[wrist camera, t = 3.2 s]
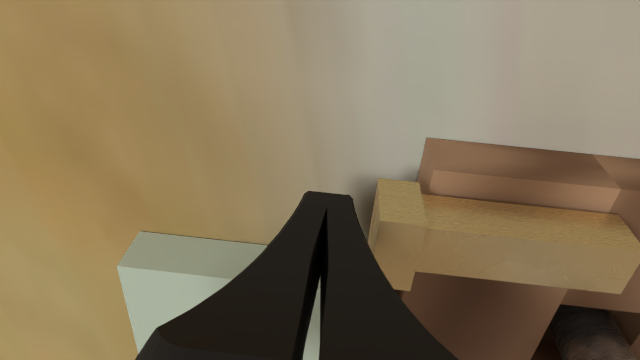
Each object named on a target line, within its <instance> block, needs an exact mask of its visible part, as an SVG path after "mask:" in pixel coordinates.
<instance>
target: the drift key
mask: <svg viewBox="0 0 640 360" xmlns="http://www.w3.org/2000/svg"><path fill="white" fill-rule="evenodd" d="M368 245H369V247H370V249H371V251H372V253H373V255H374V257H375V259H376V261H377V263H378V264H379V266H380V268H381V270H382V271H383V273H384V275H385V276H386V278H387V279H388V281H389V282H390V284H391V285H392V287H393V288H394V289H395V290H404V291H410V290H411V286H412V282H413V278H414V274H415V271H416V272H425V273H434V274H443V275H452V276H461V277H470V278H479V279H488V280H497V281H506V282H515V283H524V284H533V285H542V286H551V287H560V288H569V289H578V290H587V291H596V292H605V293H614V294H621V293H622V291H623V289H624V288H625V286H626V285H627V283H628V282H629V280H630V278H631V277H632V275H633V274H634V272H635V270H636V269H637V267H638V266H639V264H640V242H639V241H638V240H637V238H636V237H635V236H634V234H633V233H632V232H631V230H630V229H629V228H628V226H627V225H626V224H625V222H624V221H623V220H622V218H621V217H620V216H619V215H614V214H605V213H595V212H586V211H576V210H567V209H557V208H548V207H539V206H529V205H520V204H510V203H501V202H491V201H482V200H472V199H463V198H453V197H444V196H434V195H425V194H421V189H420V183H419V182H410V181H400V180H391V179H381V178H378V183H377V189H376V195H375V201H374V207H373V213H372V219H371V225H370V231H369V237H368Z"/></svg>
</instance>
